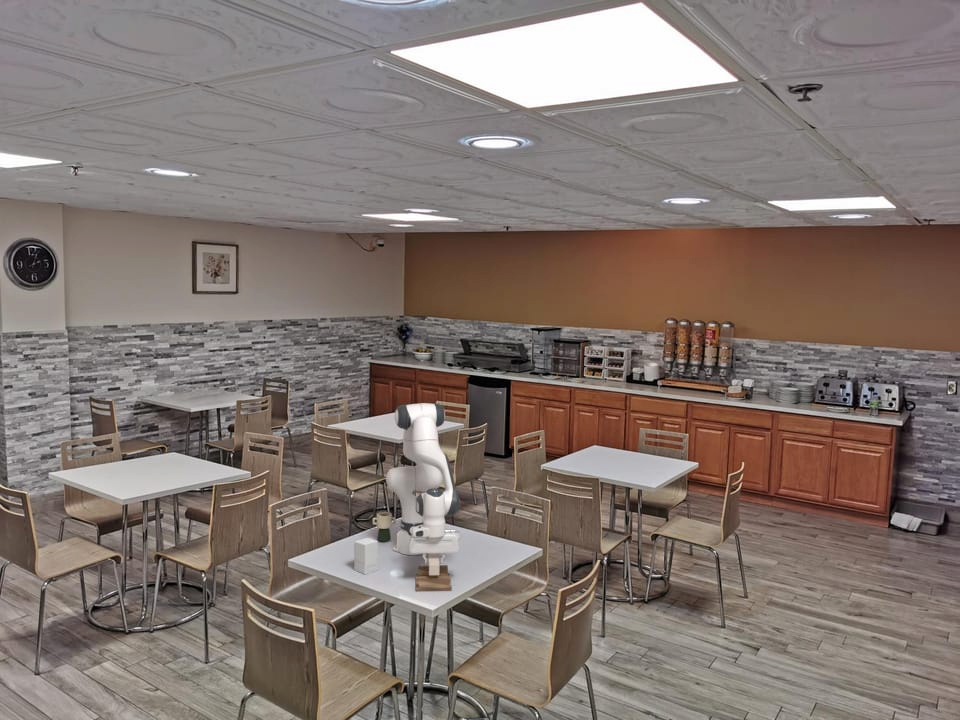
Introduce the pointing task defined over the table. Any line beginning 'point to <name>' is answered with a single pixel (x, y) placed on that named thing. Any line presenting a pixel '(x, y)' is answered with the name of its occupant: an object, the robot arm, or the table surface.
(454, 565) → the table surface
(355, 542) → the supplement box
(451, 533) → the robot arm
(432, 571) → the beige rectangular bar
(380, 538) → the character mug
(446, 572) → the ridged wooden base
